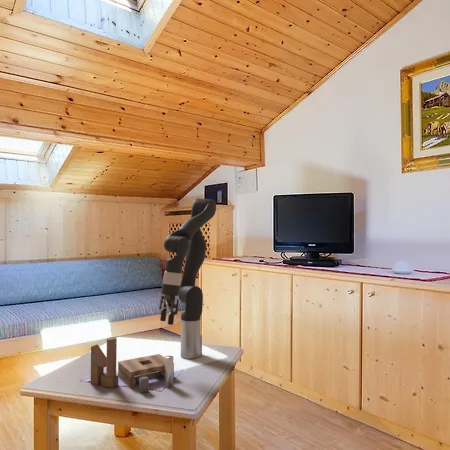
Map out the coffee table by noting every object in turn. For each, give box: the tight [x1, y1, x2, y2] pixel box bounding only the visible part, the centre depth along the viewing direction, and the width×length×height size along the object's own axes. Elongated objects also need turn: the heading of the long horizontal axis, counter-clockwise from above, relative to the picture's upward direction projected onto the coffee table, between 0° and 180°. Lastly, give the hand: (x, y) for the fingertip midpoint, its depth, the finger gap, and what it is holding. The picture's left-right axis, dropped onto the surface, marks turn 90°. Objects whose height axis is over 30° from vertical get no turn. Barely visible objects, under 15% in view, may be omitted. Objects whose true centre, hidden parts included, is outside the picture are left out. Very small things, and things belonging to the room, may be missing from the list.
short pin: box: [139, 376, 150, 395], centre depth 141 cm, size 3×3×5 cm
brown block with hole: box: [117, 353, 175, 389], centre depth 156 cm, size 18×14×6 cm
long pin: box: [164, 355, 174, 389], centre depth 147 cm, size 3×3×11 cm
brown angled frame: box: [90, 336, 119, 389], centre depth 149 cm, size 4×11×18 cm, turn 65°
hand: (166, 322), depth 160 cm, fingers open, 8 cm apart
